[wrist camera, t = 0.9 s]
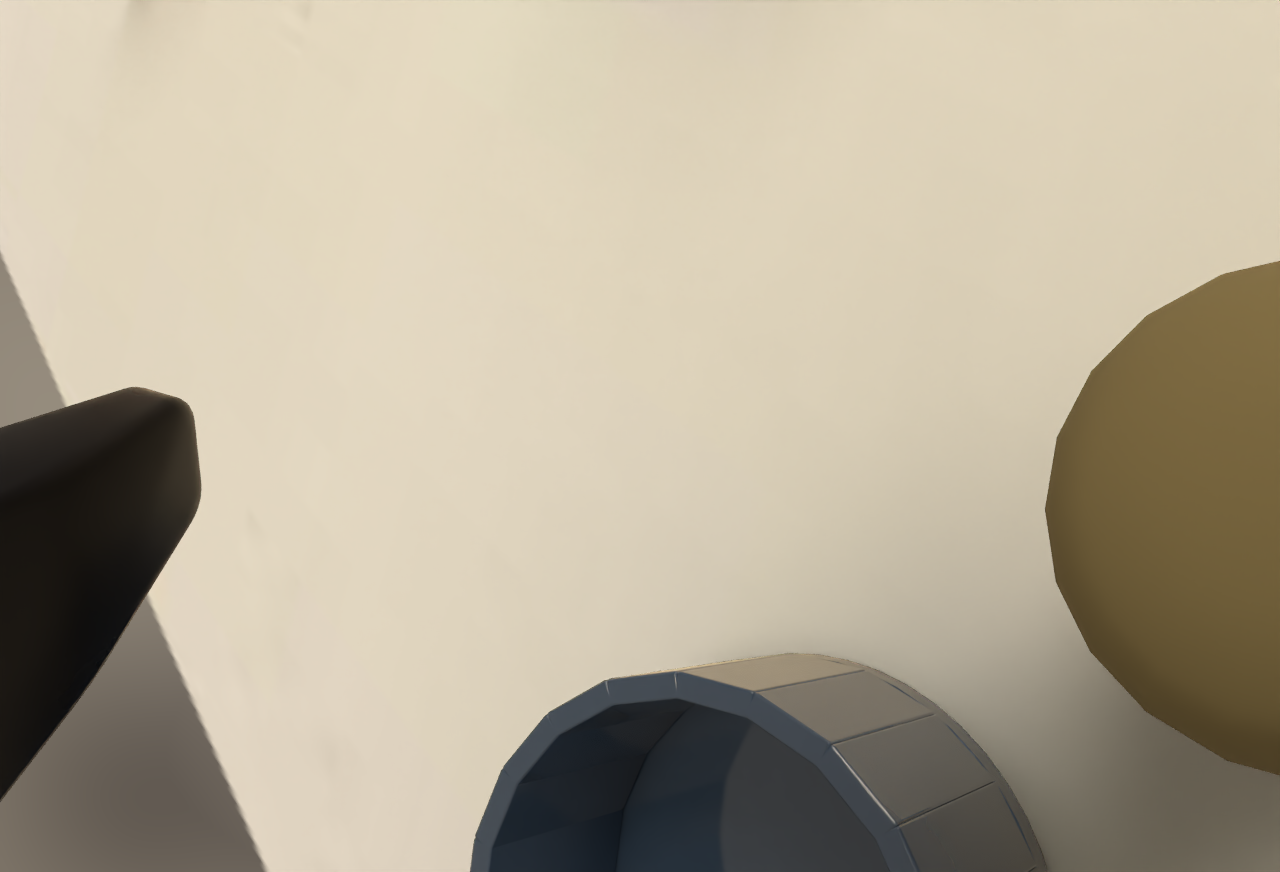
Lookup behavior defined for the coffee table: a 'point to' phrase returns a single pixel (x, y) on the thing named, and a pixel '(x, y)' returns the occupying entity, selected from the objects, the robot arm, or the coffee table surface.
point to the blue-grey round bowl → (753, 779)
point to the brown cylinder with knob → (1182, 515)
